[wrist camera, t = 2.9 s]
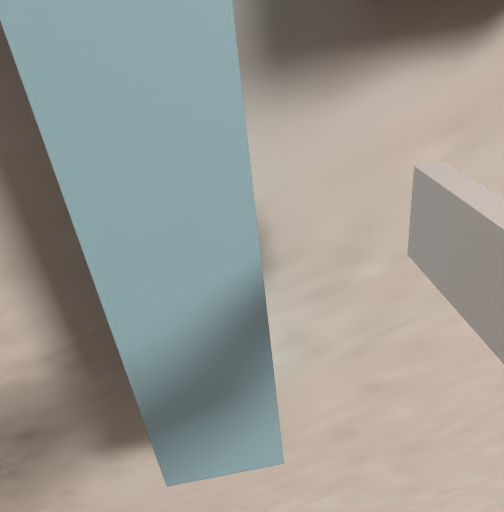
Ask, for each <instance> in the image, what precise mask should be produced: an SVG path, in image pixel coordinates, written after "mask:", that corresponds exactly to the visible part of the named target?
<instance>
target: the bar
mask: <svg viewBox="0 0 504 512" xmlns="http://www.w3.org/2000/svg"><path fill="white" fill-rule="evenodd" d="M0 21H1V24H2V27H3V30H4V32H5V35H6V38H7V41H8V44H9V46H10V49H11V52H12V55H13V58H14V60H15V63H16V66H17V69H18V72H19V74H20V77H21V80H22V83H23V86H24V88H25V91H26V94H27V97H28V100H29V102H30V105H31V108H32V111H33V114H34V116H35V119H36V122H37V125H38V128H39V130H40V133H41V136H42V139H43V142H44V144H45V147H46V150H47V153H48V156H49V158H50V161H51V164H52V167H53V169H54V172H55V175H56V178H57V181H58V183H59V186H60V189H61V192H62V195H63V197H64V200H65V203H66V206H67V209H68V211H69V214H70V217H71V220H72V223H73V225H74V228H75V231H76V234H77V237H78V239H79V242H80V245H81V248H82V251H83V253H84V256H85V259H86V262H87V265H88V267H89V270H90V273H91V276H92V279H93V281H94V284H95V287H96V290H97V293H98V295H99V298H100V301H101V304H102V307H103V309H104V312H105V315H106V318H107V321H108V323H109V326H110V329H111V332H112V335H113V337H114V340H115V343H116V346H117V349H118V351H119V354H120V357H121V360H122V363H123V365H124V368H125V371H126V374H127V377H128V379H129V382H130V385H131V388H132V391H133V393H134V396H135V399H136V402H137V405H138V407H139V410H140V413H141V416H142V419H143V421H144V424H145V427H146V430H147V433H148V435H149V438H150V441H151V444H152V446H153V449H154V452H155V455H156V458H157V460H158V463H159V466H160V469H161V472H162V474H163V477H164V480H165V483H166V486H172V485H178V484H183V483H188V482H193V481H198V480H203V479H208V478H213V477H219V476H224V475H229V474H234V473H239V472H244V471H249V470H254V469H259V468H265V467H270V466H275V465H280V464H284V459H283V450H282V441H281V432H280V423H279V414H278V405H277V396H276V387H275V379H274V370H273V361H272V352H271V343H270V334H269V325H268V316H267V307H266V298H265V289H264V281H263V272H262V263H261V254H260V245H259V236H258V227H257V218H256V209H255V200H254V191H253V183H252V174H251V165H250V156H249V147H248V138H247V129H246V120H245V111H244V102H243V93H242V84H241V76H240V67H239V58H238V49H237V40H236V31H235V22H234V13H233V4H232V0H0Z"/></svg>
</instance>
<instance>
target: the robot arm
mask: <svg viewBox="0 0 504 512" xmlns="http://www.w3.org/2000/svg"><path fill="white" fill-rule="evenodd" d="M408 256H409V257H410V258H411V259H412V260H413V261H414V262H415V264H416V265H417V266H418V267H419V268H420V269H421V270H422V272H423V273H424V274H425V275H426V276H427V277H428V278H429V280H430V281H431V282H432V283H433V284H434V285H435V286H436V287H437V289H438V290H439V291H440V292H441V293H442V294H443V295H444V297H445V298H446V299H447V300H448V301H449V302H450V303H451V305H452V306H453V307H454V308H455V309H456V310H457V311H458V313H459V314H460V315H461V316H462V317H463V318H464V319H465V320H466V322H467V323H468V324H469V325H470V326H471V327H472V328H473V330H474V331H475V332H476V333H477V334H478V335H479V336H480V338H481V339H482V340H483V341H484V342H485V343H486V344H487V346H488V347H489V348H490V349H491V350H492V351H493V352H494V353H495V355H496V356H497V357H498V358H499V359H500V360H501V361H502V363H503V364H504V199H503V198H502V197H500V196H498V195H497V194H495V193H493V192H492V191H490V190H488V189H487V188H485V187H484V186H482V185H480V184H479V183H477V182H475V181H474V180H472V179H470V178H469V177H467V176H466V175H464V174H462V173H461V172H459V171H457V170H456V169H454V168H452V167H451V166H449V165H448V164H446V163H444V162H443V161H441V162H435V163H429V164H423V165H417V166H414V176H413V189H412V202H411V216H410V229H409V242H408Z"/></svg>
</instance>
